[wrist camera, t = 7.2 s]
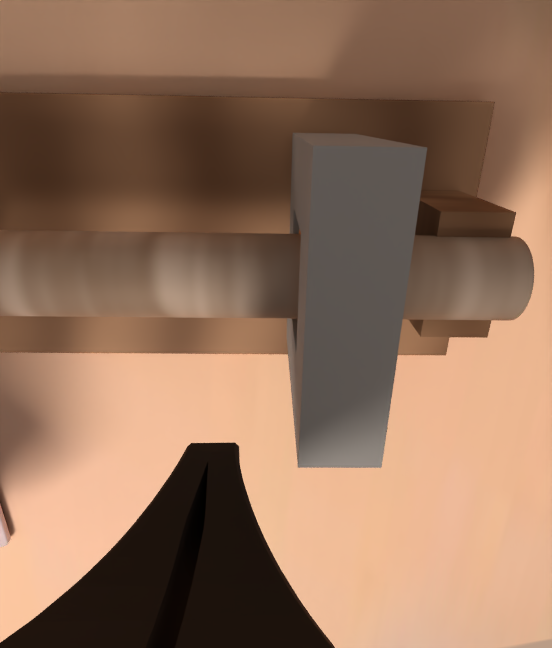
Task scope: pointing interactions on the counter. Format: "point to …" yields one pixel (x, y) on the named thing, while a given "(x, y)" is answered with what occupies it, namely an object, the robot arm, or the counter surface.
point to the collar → (349, 290)
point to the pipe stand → (223, 222)
